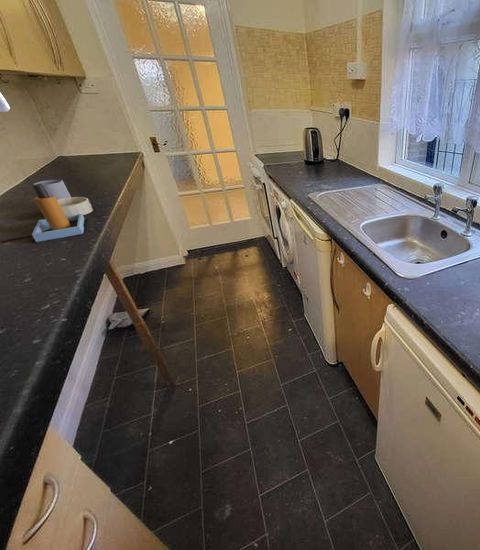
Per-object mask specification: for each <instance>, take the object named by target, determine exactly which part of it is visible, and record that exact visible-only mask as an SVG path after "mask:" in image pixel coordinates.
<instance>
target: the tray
mask: <svg viewBox="0 0 480 550" xmlns="http://www.w3.org/2000/svg"><path fill="white" fill-rule="evenodd" d="M66 218H67V219H68V221H69V222H75V221H77V224H76V226H71V228H65V229H59V230H52V229H51V228H50V226H49V224H48V222H47V221H46V219H45V218H43V219H38V221H37V223H36V225H35V227H34V229H33V231H32V232H31V236H32V238H33V239H34V241H35V242H36V243H39V242H44V241H49V240H56V239H63V238H67V237H72V236H73V237H74V236H77V235H78V236H79V235H83V234H84V231H85V226H84V224H85V217H84V215H82V214H75V215H69V216H66ZM49 229H51V230H49Z"/></svg>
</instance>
